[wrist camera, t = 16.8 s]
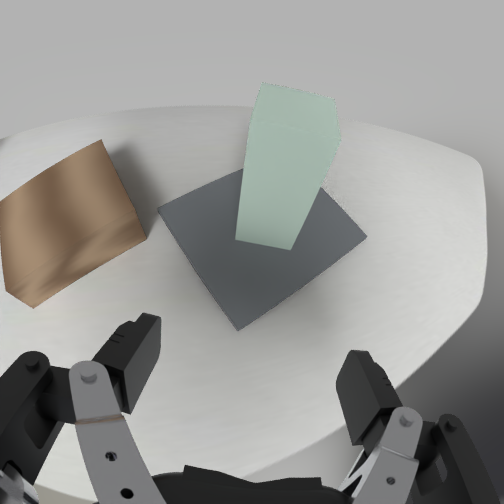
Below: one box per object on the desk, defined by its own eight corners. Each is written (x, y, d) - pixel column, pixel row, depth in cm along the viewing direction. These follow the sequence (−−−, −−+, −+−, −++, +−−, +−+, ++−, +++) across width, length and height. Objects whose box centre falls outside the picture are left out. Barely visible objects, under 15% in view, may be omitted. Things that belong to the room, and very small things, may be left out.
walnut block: (33, 308, 17) (5, 291, 13) (18, 225, 20) (-1, 202, 16) (146, 239, 21) (134, 209, 17) (111, 168, 24) (101, 139, 21)
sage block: (290, 250, 21) (341, 140, 12) (235, 239, 21) (250, 119, 12) (294, 206, 23) (334, 99, 14) (244, 196, 23) (261, 82, 14)
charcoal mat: (237, 331, 18) (238, 330, 18) (158, 211, 22) (157, 208, 22) (365, 238, 23) (367, 236, 23) (283, 154, 27) (284, 152, 27)
